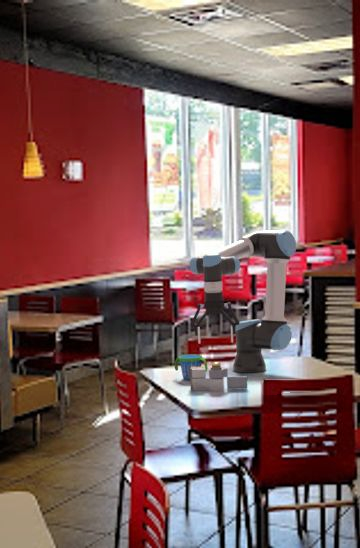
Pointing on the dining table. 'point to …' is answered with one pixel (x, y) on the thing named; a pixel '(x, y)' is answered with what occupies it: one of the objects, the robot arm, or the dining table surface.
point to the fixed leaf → (206, 381)
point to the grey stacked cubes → (229, 378)
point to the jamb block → (191, 374)
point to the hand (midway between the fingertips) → (215, 342)
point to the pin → (216, 366)
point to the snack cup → (189, 364)
